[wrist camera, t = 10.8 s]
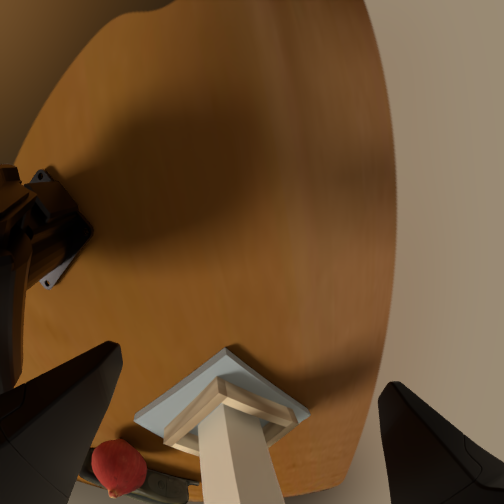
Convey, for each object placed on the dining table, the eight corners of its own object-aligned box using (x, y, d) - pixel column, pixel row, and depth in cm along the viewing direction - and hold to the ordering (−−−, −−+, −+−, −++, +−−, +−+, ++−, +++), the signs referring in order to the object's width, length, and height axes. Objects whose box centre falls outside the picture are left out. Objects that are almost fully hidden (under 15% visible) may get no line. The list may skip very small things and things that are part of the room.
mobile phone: (77, 480, 17) (194, 514, 21) (78, 472, 17) (203, 509, 21) (85, 451, 22) (193, 486, 26) (87, 442, 22) (201, 479, 25)
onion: (158, 443, 22) (156, 504, 15) (133, 458, 23) (128, 512, 15) (111, 418, 21) (97, 480, 13) (90, 436, 21) (77, 490, 13)
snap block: (197, 425, 21) (209, 544, 9) (222, 402, 21) (247, 533, 9) (232, 437, 22) (256, 546, 10) (258, 416, 22) (295, 532, 10)
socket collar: (164, 427, 21) (163, 443, 19) (216, 376, 20) (218, 392, 18) (236, 453, 23) (239, 467, 21) (292, 409, 22) (299, 423, 20)
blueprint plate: (222, 459, 25) (223, 465, 24) (135, 413, 21) (133, 421, 20) (307, 408, 24) (310, 415, 23) (225, 347, 20) (226, 354, 19)
